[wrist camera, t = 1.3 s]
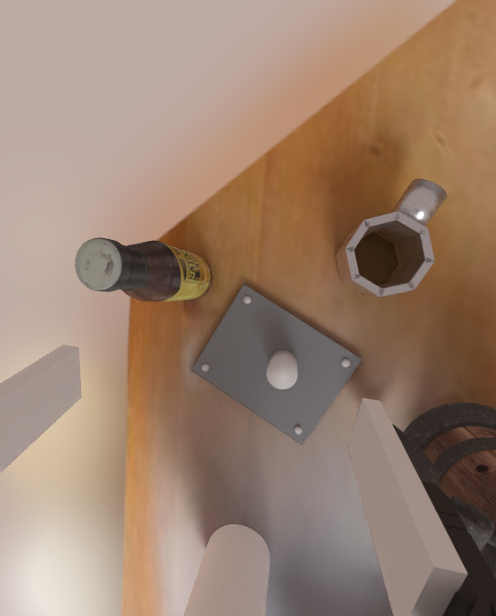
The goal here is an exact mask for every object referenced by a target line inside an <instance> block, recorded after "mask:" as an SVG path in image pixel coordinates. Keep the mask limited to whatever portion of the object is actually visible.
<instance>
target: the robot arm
mask: <svg viewBox="0 0 496 616" xmlns="http://www.w3.org/2000/svg"><path fill="white" fill-rule="evenodd" d="M80 398H81V381H80V363H79V348H78V347H73V346H67V345H62V346H60V347H59V348H57V349H56V350H54V351H52V352H51V353H49V354H47V355H46V356H44V357H43V358H41V359H39V360H38V361H36V362H35V363H33V364H31V365H30V366H28V367H26V368H25V369H23V370H22V371H20V372H18V373H17V374H15V375H14V376H12V377H10V378H9V379H7V380H5V381H4V382H2V383H1V384H0V473H1V472H2V471H3V470H4V469H5V468H6V467H7V466H8V465H10V464H11V463H12V462H13V461H14V460H15V459H16V458H17V457H18V456H19V455H20V454H21V453H22V452H23V451H24V450H25V449H27V448H28V447H29V446H30V445H31V444H32V443H33V442H34V441H35V440H36V439H37V438H38V437H40V435H42V434H43V433H44V432H45V431H46V430H47V429H48V428H49V427H50V426H51V425H52V424H53V423H54V422H56V421H57V420H58V419H59V418H60V417H61V416H62V415H63V414H64V413H65V412H66V411H67V410H68V409H69V408H70V407H72V406H73V405H74V404H75V403H76V402H77V401H78V400H79V399H80ZM348 450H349V454H350V458H351V461H352V465H353V469H354V472H355V476H356V480H357V483H358V487H359V491H360V495H361V498H362V502H363V506H364V509H365V513H366V517H367V520H368V524H369V528H370V531H371V535H372V539H373V543H374V546H375V550H376V554H377V557H378V561H379V565H380V568H381V572H382V576H383V579H384V583H385V587H386V591H387V594H388V598H389V602H390V605H391V609H392V613H393V616H496V578H495V576H494V575H493V573H492V571H491V569H490V568H489V566H488V564H487V562H486V561H485V559H484V557H483V555H482V554H481V552H480V550H479V549H478V547H477V545H476V543H475V542H474V540H473V538H472V536H471V535H470V533H468V532H467V528H466V526H465V524H464V522H463V521H462V519H460V518H459V514H458V512H457V510H456V509H455V507H454V505H453V503H452V502H451V500H450V498H449V497H448V496H447V495H446V494H445V493H444V492H443V491H442V490H441V489H440V488H439V487H438V486H437V485H436V484H433V483H428V482H422V481H421V480H420V478H419V476H418V474H417V472H416V470H415V468H414V467H413V465H412V463H411V461H410V459H409V457H408V455H407V453H406V451H405V449H404V447H403V445H402V443H401V441H400V439H399V437H398V435H397V433H396V431H395V429H394V427H393V425H392V423H391V421H390V419H389V417H388V415H387V413H386V411H385V409H384V407H383V405H382V403H381V401H378V400H372V399H366V398H363V399H362V402H361V405H360V408H359V412H358V415H357V418H356V422H355V425H354V428H353V432H352V435H351V438H350V441H349V445H348Z"/></svg>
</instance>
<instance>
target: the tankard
mask: <svg viewBox="0 0 496 616" xmlns="http://www.w3.org/2000/svg"><path fill="white" fill-rule="evenodd" d="M392 425H393V424H392ZM393 427H394V429H395V431H396V433H397V435H398V437H399V439H400V441H401V443H402V445H403V447H404V449H405V451H406V453H407V455H408V457H409V459H410V461H411V463H412V465H413V467H414V468H415V470H416V472H417V474H418V476H419V478H420V480H421V481H422V482H428V483H433V484H436V485H437V486H438V487H439V488H440V489H441V490H442V491H443V492H444V493H445V494H446V495H447V496H448V497H449V498H450V500H451V502H452V503H453V505H454V507H455V509H456V510H457V512H458V514H459V518H460V519H462V521H463V522H464V524H465V526H466V528H467V532H468V533H470V535H471V536H472V538H473V540H474V542H475V543H476V545H477V547H478V549H479V550H480V552H481V554H482V555H483V557H484V559H485V561H486V562H487V564H488V566H489V568H490V569H491V571H492V573H493V575H494V576H495V578H496V409H493V408H491V407H488V406H484V405H479V404H475V403H454V404H447V405H443V406H440V407H437V408H433V409H431V410H429V411H427V412H426V413H424V414H422V415H420V416H419V417H418V418H417V419H415V420H414V421H413V422H412V423H411V424H410V425H409V426H408V427H407V428H406V430H405V431H404V432H403V431H401V430H400V429H399V428H397V427H396V426H395V425H393Z"/></svg>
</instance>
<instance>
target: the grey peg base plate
mask: <svg viewBox="0 0 496 616" xmlns="http://www.w3.org/2000/svg"><path fill="white" fill-rule="evenodd" d="M361 361H362V359H361V358H360V357H359V356H357V355H356V354H354V353H352V352H351V351H349V350H348V349H346V348H345V347H343V346H341V345H340V344H338V343H337V342H335V341H334V340H332V339H330V338H329V337H327V336H326V335H324V334H323V333H321V332H319V331H318V330H316V329H315V328H313V327H311V326H310V325H308V324H307V323H305V322H304V321H302V320H300V319H299V318H297V317H296V316H294V315H293V314H291V313H289V312H288V311H286V310H285V309H283V308H282V307H280V306H278V305H277V304H275V303H274V302H272V301H271V300H269V299H267V298H266V297H264V296H263V295H261V294H260V293H258V292H256V291H255V290H253V289H252V288H250V287H248V286H247V285H245V284H244V285H243V287H242V288H241V290H240V291H239V293H238V295H237V296H236V298H235V300H234V301H233V303H232V305H231V306H230V308H229V309H228V311H227V313H226V314H225V316H224V318H223V319H222V321H221V322H220V324H219V326H218V327H217V329H216V331H215V332H214V334H213V335H212V337H211V339H210V340H209V342H208V344H207V345H206V347H205V349H204V350H203V352H202V353H201V355H200V357H199V358H198V360H197V362H196V363H195V365H194V366H193V368H192V371H194V372H195V373H197V374H198V375H199V376H201V377H202V378H204V379H205V380H207V381H208V382H210V383H211V384H213V385H214V386H216V387H217V388H219V389H220V390H222V391H223V392H225V393H226V394H228V395H229V396H231V397H232V398H233V399H235V400H236V401H238V402H239V403H241V404H242V405H244V406H245V407H247V408H248V409H250V410H251V411H253V412H254V413H256V414H257V415H259V416H260V417H262V418H263V419H264V420H266V421H267V422H269V423H270V424H272V425H273V426H275V427H276V428H278V429H279V430H281V431H282V432H284V433H285V434H287V435H288V436H290V437H291V438H293V439H294V440H296V441H297V442H298V443H300V444H301V445H302V444H303V442H304V441H305V440H306V438H307V437H308V435H309V434H310V433H311V431H312V430H313V428H314V427H315V426H316V424H317V423H318V421H319V420H320V419H321V417H322V416H323V414H324V413H325V412H326V410H327V409H328V407H329V406H330V405H331V403H332V402H333V400H334V399H335V397H336V396H337V395H338V393H339V392H340V390H341V389H342V388H343V386H344V385H345V383H346V382H347V381H348V379H349V378H350V376H351V375H352V374H353V372H354V371H355V369H356V368H357V367H358V365H359V364H360V362H361Z"/></svg>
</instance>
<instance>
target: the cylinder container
mask: <svg viewBox="0 0 496 616" xmlns="http://www.w3.org/2000/svg"><path fill="white" fill-rule="evenodd" d="M269 569H270V552H269V549H268V546H267V544H266V543H265V541H264V539H263V538H262V537H261V536H260V535H259V534H258V533H257V532H255V531H254V530H252V529H251V528H249V527H246V526H243V525H238V524H230V525H225V526H223V527H221V528H219V529H217V530H216V531H215V532H214V533H213V534H212V535H211V537H210V539H209V541H208V544H207V547H206V550H205V553H204V556H203V559H202V562H201V565H200V568H199V571H198V574H197V577H196V580H195V583H194V586H193V589H192V592H191V595H190V598H189V601H188V604H187V607H186V610H185V613H184V616H265V614H266V603H267V592H268V580H269Z"/></svg>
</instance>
